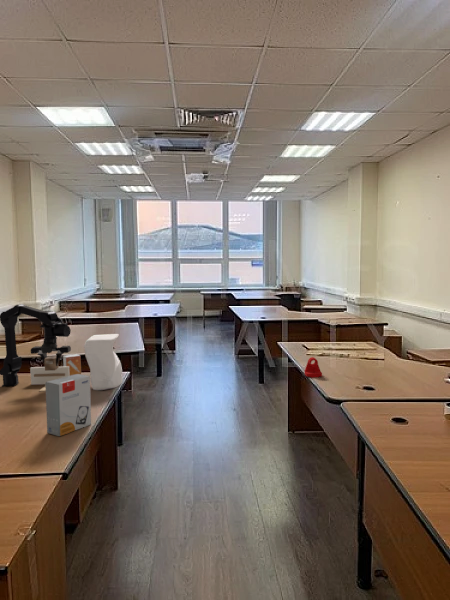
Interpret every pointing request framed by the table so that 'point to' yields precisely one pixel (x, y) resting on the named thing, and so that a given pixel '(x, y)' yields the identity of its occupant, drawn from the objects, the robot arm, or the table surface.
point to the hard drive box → (68, 404)
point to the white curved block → (103, 362)
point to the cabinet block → (50, 363)
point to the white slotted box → (47, 375)
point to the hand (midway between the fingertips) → (51, 366)
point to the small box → (73, 363)
